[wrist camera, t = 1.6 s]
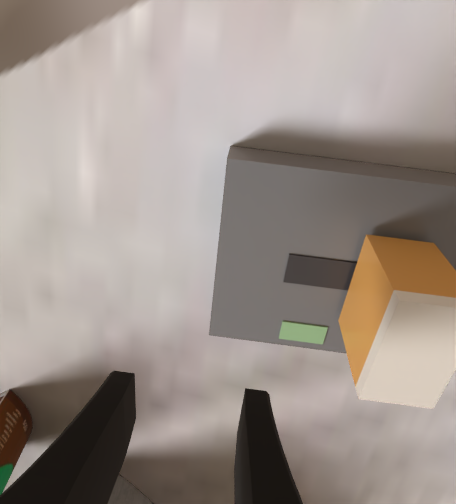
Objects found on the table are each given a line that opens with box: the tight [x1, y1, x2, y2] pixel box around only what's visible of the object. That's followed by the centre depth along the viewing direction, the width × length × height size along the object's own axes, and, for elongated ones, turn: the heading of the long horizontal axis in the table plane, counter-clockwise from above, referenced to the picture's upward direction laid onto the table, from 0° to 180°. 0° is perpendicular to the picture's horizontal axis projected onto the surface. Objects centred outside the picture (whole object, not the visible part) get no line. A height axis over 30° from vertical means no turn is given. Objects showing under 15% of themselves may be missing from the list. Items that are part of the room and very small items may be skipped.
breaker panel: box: [209, 146, 456, 353], centre depth 19 cm, size 16×10×2 cm, turn 84°
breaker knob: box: [338, 234, 456, 409], centre depth 16 cm, size 3×5×5 cm, turn 174°
